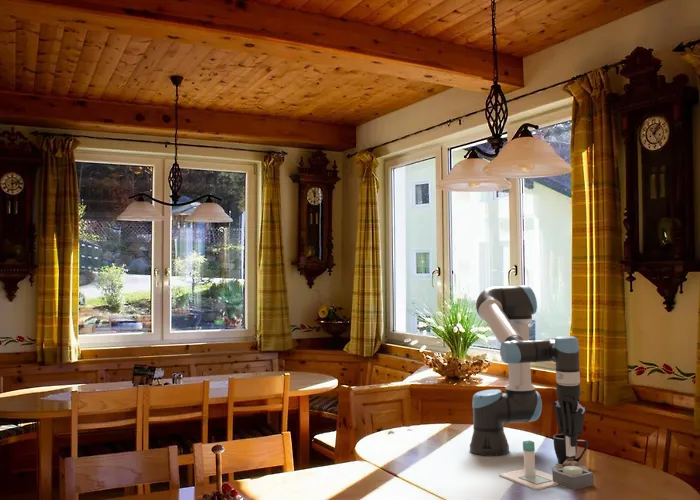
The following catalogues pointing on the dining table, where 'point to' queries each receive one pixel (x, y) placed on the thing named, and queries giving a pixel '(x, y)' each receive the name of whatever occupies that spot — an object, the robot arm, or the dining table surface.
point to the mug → (561, 448)
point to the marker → (529, 459)
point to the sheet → (531, 479)
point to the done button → (572, 470)
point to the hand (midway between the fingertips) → (570, 455)
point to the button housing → (573, 479)
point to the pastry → (569, 464)
